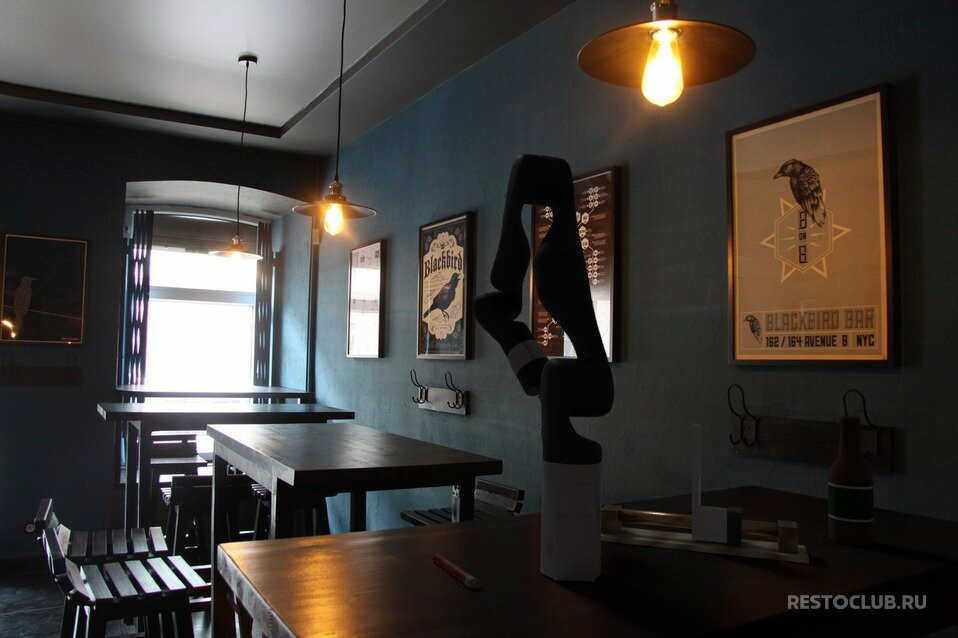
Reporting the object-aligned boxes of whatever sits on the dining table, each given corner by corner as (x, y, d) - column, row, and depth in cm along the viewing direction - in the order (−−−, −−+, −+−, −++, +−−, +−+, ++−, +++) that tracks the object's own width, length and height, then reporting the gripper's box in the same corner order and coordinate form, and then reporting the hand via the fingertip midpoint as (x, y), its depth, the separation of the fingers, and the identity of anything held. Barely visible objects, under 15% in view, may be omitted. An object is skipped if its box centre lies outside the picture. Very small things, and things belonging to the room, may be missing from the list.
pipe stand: (590, 539, 132) (591, 510, 133) (599, 530, 141) (600, 502, 141) (808, 563, 120) (808, 530, 120) (804, 551, 128) (804, 520, 128)
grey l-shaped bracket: (691, 539, 128) (692, 425, 129) (693, 532, 133) (694, 423, 135) (727, 543, 126) (727, 427, 127) (727, 536, 131) (727, 425, 133)
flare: (469, 592, 101) (470, 579, 101) (432, 564, 114) (432, 553, 114) (480, 590, 101) (480, 578, 101) (441, 563, 115) (442, 552, 115)
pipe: (607, 522, 135) (607, 508, 135) (609, 519, 137) (610, 505, 137) (791, 540, 124) (791, 525, 124) (790, 537, 126) (790, 522, 126)
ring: (727, 544, 126) (727, 512, 126) (727, 537, 131) (727, 506, 131) (741, 545, 125) (741, 513, 125) (741, 539, 130) (741, 508, 131)
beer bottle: (819, 538, 139) (818, 414, 141) (849, 536, 142) (848, 415, 143) (853, 548, 132) (851, 417, 133) (883, 545, 134) (882, 417, 136)
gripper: (542, 345, 138) (586, 418, 129) (553, 370, 149) (595, 439, 141) (508, 364, 138) (550, 439, 129) (522, 388, 149) (561, 458, 141)
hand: (573, 439), depth 135 cm, fingers closed
